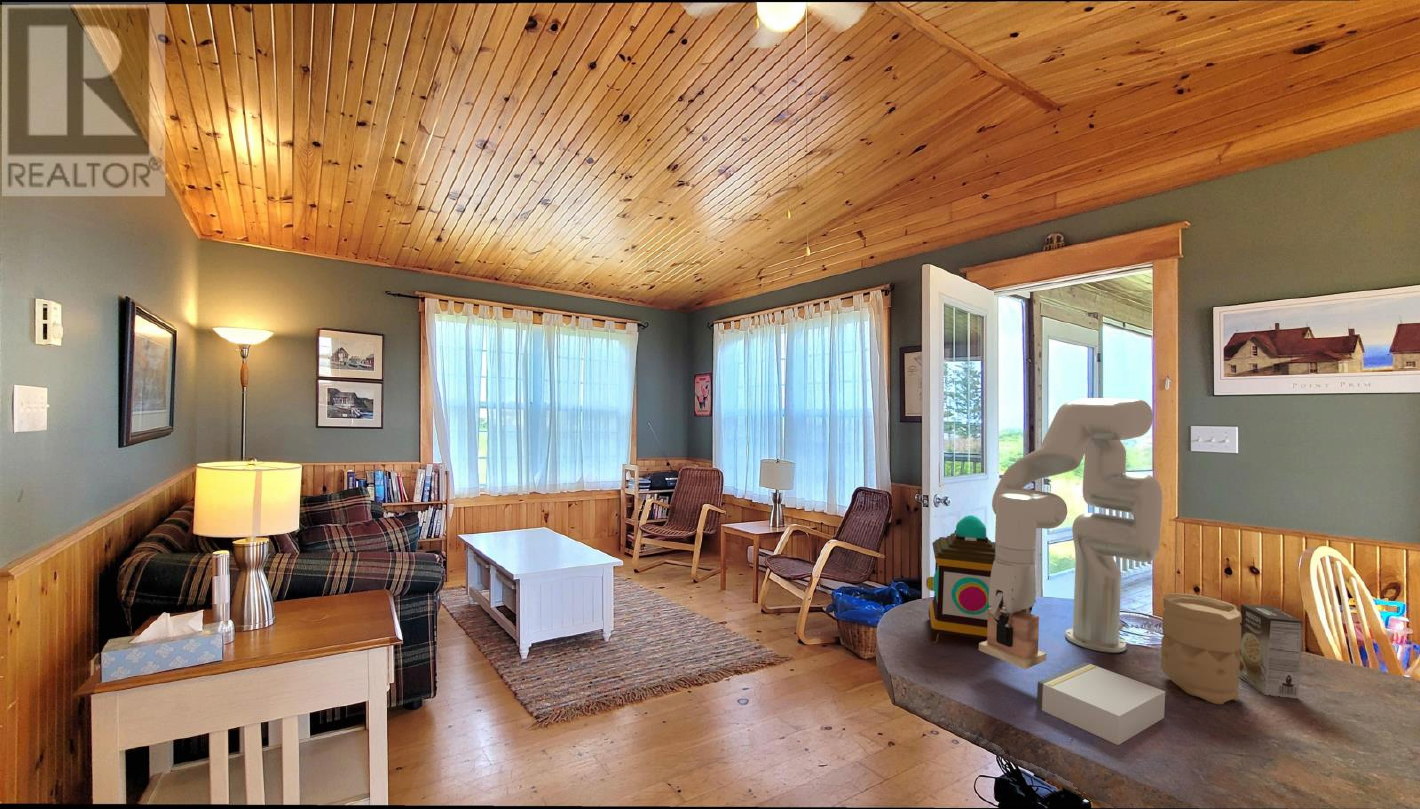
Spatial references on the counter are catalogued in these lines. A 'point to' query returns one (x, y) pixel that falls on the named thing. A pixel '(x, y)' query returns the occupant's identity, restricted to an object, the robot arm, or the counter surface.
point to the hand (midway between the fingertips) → (1012, 640)
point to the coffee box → (1270, 650)
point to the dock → (1101, 702)
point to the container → (1202, 646)
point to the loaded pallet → (1013, 657)
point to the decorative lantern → (961, 581)
